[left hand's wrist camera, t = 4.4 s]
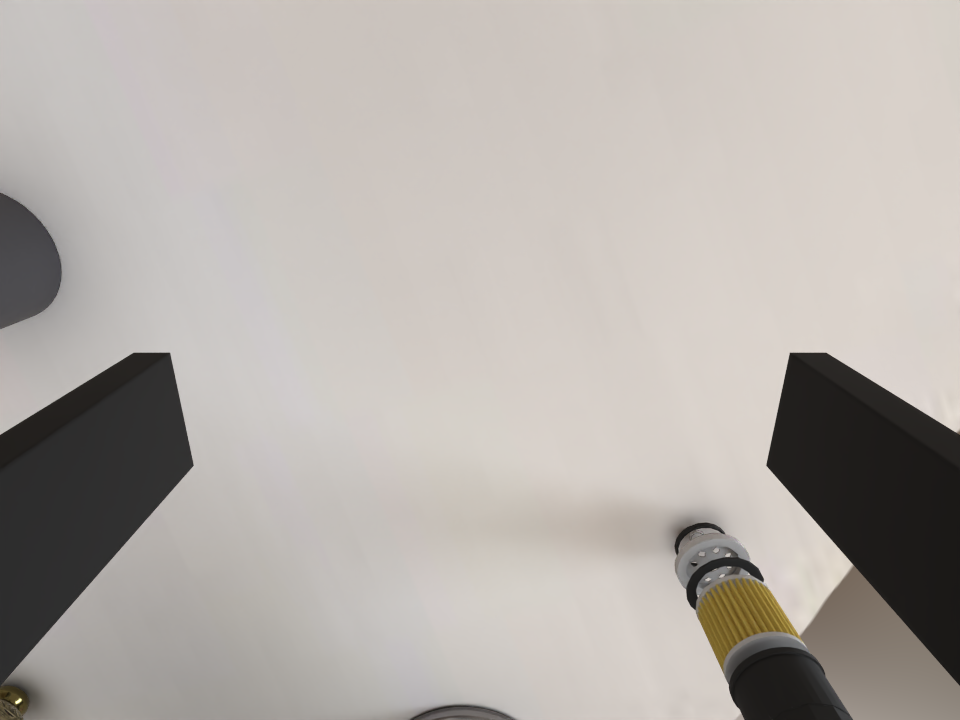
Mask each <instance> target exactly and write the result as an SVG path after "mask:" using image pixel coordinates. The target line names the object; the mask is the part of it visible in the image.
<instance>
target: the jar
mask: <svg viewBox="0 0 960 720" xmlns="http://www.w3.org/2000/svg"><path fill="white" fill-rule="evenodd" d="M60 281H61V265H60V260H59V255H58V252H57V249H56V247H55V245H54V242H53V240H52V238H51V237H50V235H49V233H48V232H47V230H46V229H45V228H44V226H43V225H42V224H41V222H40V221H39V220H38V219H37V218H36V217H35V216H34V215H33V214H32V213H31V212H30V211H29V210H27V209H26V208H25V207H24V206H22V205H21V204H19V203H18V202H17V201H15V200H13V199H11V198H10V197H8V196H6V195H3V194H1V193H0V329H2V328H4V327H7V326H9V325H12V324H14V323H17V322H19V321H22V320H24V319H27V318H30V317H32V316H35V315H37V314H38V313H40V312H42V311H43V310H44V309H46V308H47V307H48V306H49V305H50V304H51V302H52V301H53V300H54V298H55V296H56V294H57V292H58V289H59V286H60Z"/></svg>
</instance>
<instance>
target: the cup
mask: <svg viewBox="0 0 960 720" xmlns="http://www.w3.org/2000/svg"><path fill="white" fill-rule="evenodd" d="M28 706H29V698H28V696H27V695H26V693H25V692H24V691H22V690H21V689H19V688H17V687H13V686H1V687H0V720H23V717H22V716H23V715H24V714H25V713H26V711H27V709H28Z"/></svg>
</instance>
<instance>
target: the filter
mask: <svg viewBox="0 0 960 720" xmlns="http://www.w3.org/2000/svg"><path fill="white" fill-rule="evenodd" d="M700 528H712V529H715V530H718V531H719V532H720V533H710V534H705V535H704V534H703V532H702V531H699V530H696V529H700ZM693 530H694V531H693ZM691 531H692V532H691ZM689 532H691V533H689ZM688 533H689V538H690V541H689V542H688V543H687V544H686V545H685V546H684V547H682V549H681V550H680V551H678V548H679V545H680V542H681V540H682V539H683V538H684V536H686V535H687V534H688ZM695 533H700V534H702V536H699V537H696V538H694V539H692V536H693V535H694V534H695ZM715 547H717V548H719V552H717V553H714V552H713V550H714V549H715ZM675 551H676V554H677V557H676V560H675V572H676V574H677V577H678V579H679V581H680V583H681V584H682V586H683V587H684V588H685V589H686V592H687V600H688V602H689V604H690V605H691V607H692V608H694V609H695V610H696V614H697V617H698V619H699V621H700V623H701V625H702V627H703V629H704V632H705V634H706V636H707V638H708V640H709V642H710V645H711V647H712V649H713V651H714V653H715V656H716V658H717V660H718V662H719V664H720V667H721V669H722V671H723V673H724V675H725V678H726V680H727V682H728V684H729V691H730V694H731V697H732V699H733V701H734V703H735V704H736V706H737V707H738V708H739V709H740V711H741V713H742V715H743V717H744V719H745V720H853V719H852V718H851V716H850V714H849V713H848V711H847V710H846V708H845V707H844V705H843V704H842V702H841V700H840V699H839V697H838V696H837V694H836V693H835V691H834V689H833V688H832V686H831V685H830V683H829V682H828V680H827V679H826V677H825V672H824V670H823V668H822V666H821V665H820V663H819V662H818V660H817V659H816V658H815V657H814V656H813V655H812V654H810V653H809V651H808V649H807V647H806V646H805V644H804V643H803V641H802V640H801V638H800V637H799V635H798V633H797V632H796V630H795V629H794V627H793V626H792V624H791V623H790V621H789V619H788V618H787V616H786V615H785V613H784V612H783V610H782V609H781V607H780V605H779V604H778V602H777V601H776V599H775V598H774V596H773V595H772V593H771V591H770V590H769V589H768V587H767V585H766V584H765V583H763V581H764V579H763V577H762V575H761V573H760V571H759V569H758V568H757V567H756V566H755V565H753V564H752V563H751V562H750V557H749V554H748V553H747V551H746V549H745V548H744V546H743V545H742V544H741V543H740V542H739V541H738V540H737V539H736V538H734V537H732V536H730V535H726V534H725V533H724V531H723V530H722V529H721V528H720V527H718V526H716V525H714V524H710V523H698V524H695V525H692V526H689V527H687V528H686V529H684V530H683V531H682V532H681V533H680V534H679V536H678V537H677V539H676V542H675ZM700 551H702V552H705V556H699V554H698V553H699V552H700ZM726 553H731V555H730V557H725V555H726ZM691 562H697V563H691ZM727 566H731V568H729V569H728V568H727ZM716 568H718V569H717V570H714V569H716ZM712 570H714V571H712ZM748 573H749V574H750V575H748ZM721 574H725V576H724V577H722V578H719V576H720V575H721ZM707 578H711V580H710V581H705V579H707ZM697 595H700V596H699V597H697Z"/></svg>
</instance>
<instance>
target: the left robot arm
mask: <svg viewBox="0 0 960 720" xmlns="http://www.w3.org/2000/svg"><path fill="white" fill-rule="evenodd" d="M193 466H194V465H193V460H192V455H191V451H190V446H189V441H188V436H187V431H186V427H185V422H184V417H183V412H182V408H181V403H180V398H179V393H178V389H177V384H176V379H175V374H174V370H173V365H172V360H171V355H170V353H133V354H131V355H129V356H128V357H126V358H125V359H123V360H121V361H120V362H118V363H116V364H115V365H113V366H112V367H110V368H108V369H107V370H105V371H103V372H102V373H100V374H99V375H97V376H95V377H94V378H92V379H90V380H89V381H87V382H86V383H84V384H82V385H81V386H79V387H77V388H76V389H74V390H73V391H71V392H69V393H68V394H66V395H64V396H63V397H61V398H60V399H58V400H56V401H55V402H53V403H51V404H50V405H48V406H47V407H45V408H43V409H42V410H40V411H38V412H37V413H35V414H34V415H32V416H30V417H29V418H27V419H25V420H24V421H22V422H21V423H19V424H17V425H16V426H14V427H12V428H11V429H9V430H8V431H6V432H4V433H3V434H1V435H0V685H1V684H2V683H3V682H4V681H5V680H6V678H7V677H8V676H9V675H10V674H11V673H12V672H13V671H14V669H15V668H16V667H17V666H18V665H19V664H20V663H21V661H22V660H23V659H24V658H25V657H26V656H27V655H28V653H29V652H30V651H31V650H32V649H33V648H34V647H35V645H36V644H37V643H38V642H39V641H40V640H41V639H42V638H43V636H44V635H45V634H46V633H47V632H48V631H49V630H50V628H51V627H52V626H53V625H54V624H55V623H56V622H57V620H58V619H59V618H60V617H61V616H62V615H63V614H64V612H65V611H66V610H67V609H68V608H69V607H70V606H71V605H72V603H73V602H74V601H75V600H76V599H77V598H78V597H79V595H80V594H81V593H82V592H83V591H84V590H85V589H86V587H87V586H88V585H89V584H90V583H91V582H92V581H93V579H94V578H95V577H96V576H97V575H98V574H99V573H100V572H101V570H102V569H103V568H104V567H105V566H106V565H107V564H108V562H109V561H110V560H111V559H112V558H113V557H114V556H115V554H116V553H117V552H118V551H119V550H120V549H121V548H122V546H123V545H124V544H125V543H126V542H127V541H128V540H129V539H130V537H131V536H132V535H133V534H134V533H135V532H136V531H137V529H138V528H139V527H140V526H141V525H142V524H143V523H144V521H145V520H146V519H147V518H148V517H149V516H150V515H151V513H152V512H153V511H154V510H155V509H156V508H157V507H158V506H159V504H160V503H161V502H162V501H163V500H164V499H165V498H166V496H167V495H168V494H169V493H170V492H171V491H172V490H173V488H174V487H175V486H176V485H177V484H178V483H179V482H180V480H181V479H182V478H183V477H184V476H185V475H186V474H187V473H188V471H189V470H190V469H191V468H192V467H193ZM766 466H767V467H768V468H769V469H770V470H771V471H772V473H773V474H774V475H775V476H776V477H777V478H778V479H779V480H780V482H781V483H782V484H783V485H784V486H785V487H786V488H787V490H788V491H789V492H790V493H791V494H792V495H793V496H794V498H795V499H796V500H797V501H798V502H799V503H800V504H801V506H802V507H803V508H804V509H805V510H806V511H807V512H808V513H809V515H810V516H811V517H812V518H813V519H814V520H815V521H816V523H817V524H818V525H819V526H820V527H821V528H822V529H823V531H824V532H825V533H826V534H827V535H828V536H829V537H830V539H831V540H832V541H833V542H834V543H835V544H836V545H837V546H838V548H839V549H840V550H841V551H842V552H843V553H844V554H845V556H846V557H847V558H848V559H849V560H850V561H851V562H852V564H853V565H854V566H855V567H856V568H857V569H858V570H859V572H860V573H861V574H862V575H863V576H864V577H865V578H866V579H867V581H868V582H869V583H870V584H871V585H872V586H873V587H874V589H875V590H876V591H877V592H878V593H879V594H880V595H881V597H882V598H883V599H884V600H885V601H886V602H887V603H888V605H889V606H890V607H891V608H892V609H893V610H894V611H895V612H896V614H897V615H898V616H899V617H900V618H901V619H902V620H903V622H904V623H905V624H906V625H907V626H908V627H909V628H910V630H911V631H912V632H913V633H914V634H915V635H916V636H917V638H918V639H919V640H920V641H921V642H922V643H923V644H924V645H925V647H926V648H927V649H928V650H929V651H930V652H931V653H932V655H933V656H934V657H935V658H936V659H937V660H938V661H939V663H940V664H941V665H942V666H943V667H944V668H945V669H946V671H947V672H948V673H949V674H950V675H951V676H952V677H953V678H954V680H955V681H956V682H957V683H958V684H959V685H960V435H959V434H957V433H956V432H954V431H952V430H951V429H949V428H948V427H946V426H944V425H943V424H941V423H939V422H938V421H936V420H935V419H933V418H931V417H930V416H928V415H926V414H925V413H923V412H922V411H920V410H918V409H917V408H915V407H913V406H912V405H910V404H909V403H907V402H905V401H904V400H902V399H900V398H899V397H897V396H896V395H894V394H892V393H891V392H889V391H887V390H886V389H884V388H883V387H881V386H879V385H878V384H876V383H874V382H873V381H871V380H870V379H868V378H866V377H865V376H863V375H861V374H860V373H858V372H857V371H855V370H853V369H852V368H850V367H848V366H847V365H845V364H844V363H842V362H840V361H839V360H837V359H835V358H834V357H832V356H831V355H829V354H827V353H790V355H789V360H788V365H787V370H786V374H785V379H784V384H783V389H782V393H781V398H780V403H779V408H778V412H777V417H776V422H775V427H774V431H773V436H772V441H771V446H770V451H769V455H768V460H767V465H766Z"/></svg>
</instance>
